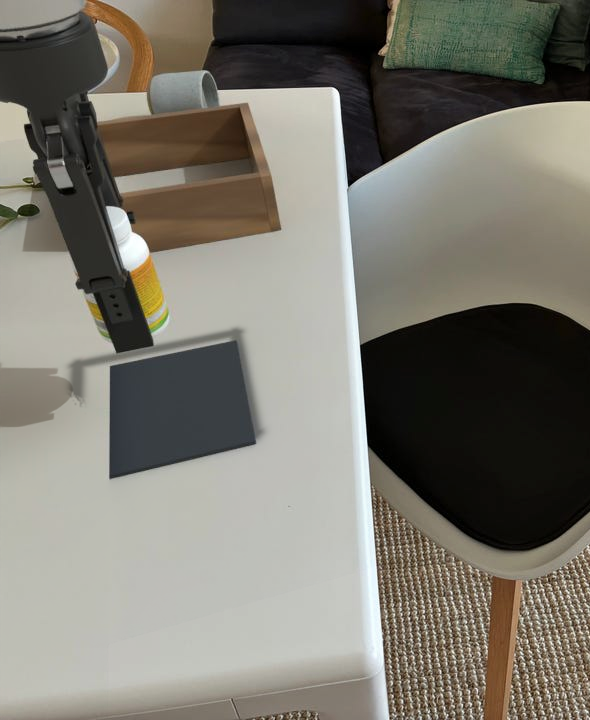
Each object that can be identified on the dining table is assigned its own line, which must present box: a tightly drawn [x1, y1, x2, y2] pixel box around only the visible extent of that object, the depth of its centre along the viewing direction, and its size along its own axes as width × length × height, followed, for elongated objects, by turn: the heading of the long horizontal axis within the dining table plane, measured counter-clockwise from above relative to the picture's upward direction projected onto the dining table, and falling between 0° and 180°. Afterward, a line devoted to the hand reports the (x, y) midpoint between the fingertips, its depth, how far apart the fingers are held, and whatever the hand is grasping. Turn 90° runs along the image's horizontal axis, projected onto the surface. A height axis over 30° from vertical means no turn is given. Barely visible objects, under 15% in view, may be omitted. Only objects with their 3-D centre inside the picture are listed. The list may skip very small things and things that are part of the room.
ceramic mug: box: [146, 69, 221, 115], centre depth 108 cm, size 11×8×8 cm
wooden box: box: [97, 102, 282, 253], centre depth 93 cm, size 21×20×7 cm
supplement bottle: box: [70, 206, 171, 344], centre depth 59 cm, size 5×5×10 cm
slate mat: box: [108, 339, 257, 479], centre depth 68 cm, size 14×14×1 cm
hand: (134, 323), depth 62 cm, fingers closed on supplement bottle, 5 cm apart
